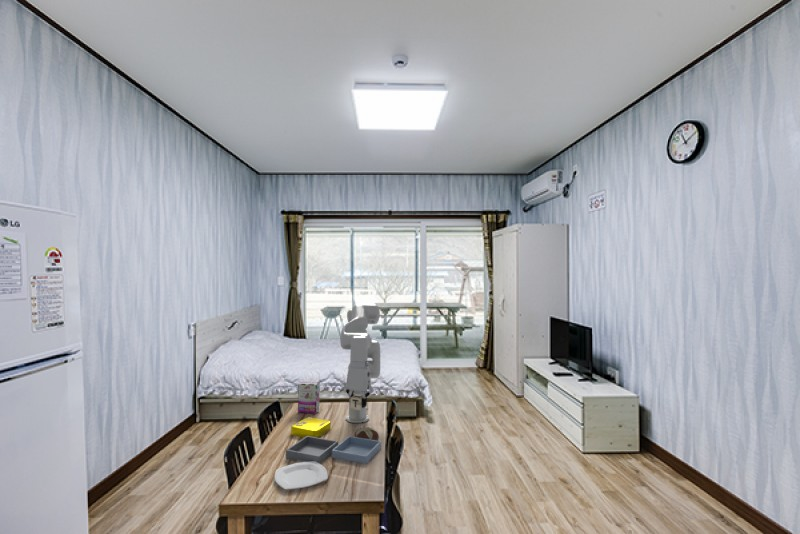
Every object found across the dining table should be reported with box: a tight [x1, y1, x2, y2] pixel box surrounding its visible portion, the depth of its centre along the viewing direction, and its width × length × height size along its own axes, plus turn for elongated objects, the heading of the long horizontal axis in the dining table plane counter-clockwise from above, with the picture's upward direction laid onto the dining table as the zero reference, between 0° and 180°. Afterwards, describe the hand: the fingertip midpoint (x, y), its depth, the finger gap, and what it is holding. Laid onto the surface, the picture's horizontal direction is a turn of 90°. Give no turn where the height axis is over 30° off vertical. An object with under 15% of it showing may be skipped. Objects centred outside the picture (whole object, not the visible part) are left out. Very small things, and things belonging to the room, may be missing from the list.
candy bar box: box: [297, 381, 320, 415], centre depth 221 cm, size 11×5×16 cm, turn 80°
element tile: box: [290, 416, 332, 438], centre depth 192 cm, size 15×15×5 cm
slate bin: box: [331, 435, 382, 465], centre depth 168 cm, size 16×16×4 cm
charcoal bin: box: [285, 436, 339, 464], centre depth 168 cm, size 16×16×4 cm
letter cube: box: [350, 394, 366, 411], centre depth 169 cm, size 5×5×5 cm
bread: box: [353, 427, 379, 441], centre depth 184 cm, size 11×11×5 cm
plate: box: [274, 461, 329, 491], centre depth 147 cm, size 19×19×2 cm
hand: (357, 405), depth 169 cm, fingers closed on letter cube, 4 cm apart
